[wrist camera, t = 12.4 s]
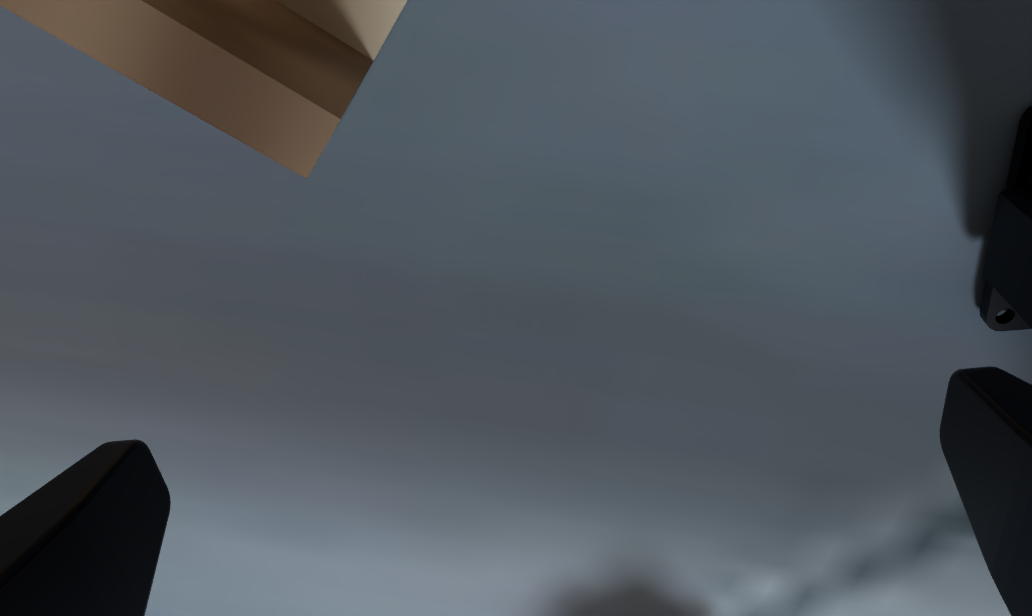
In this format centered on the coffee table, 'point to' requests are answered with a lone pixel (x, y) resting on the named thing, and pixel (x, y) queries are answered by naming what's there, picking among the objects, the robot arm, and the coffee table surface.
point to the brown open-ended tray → (235, 59)
